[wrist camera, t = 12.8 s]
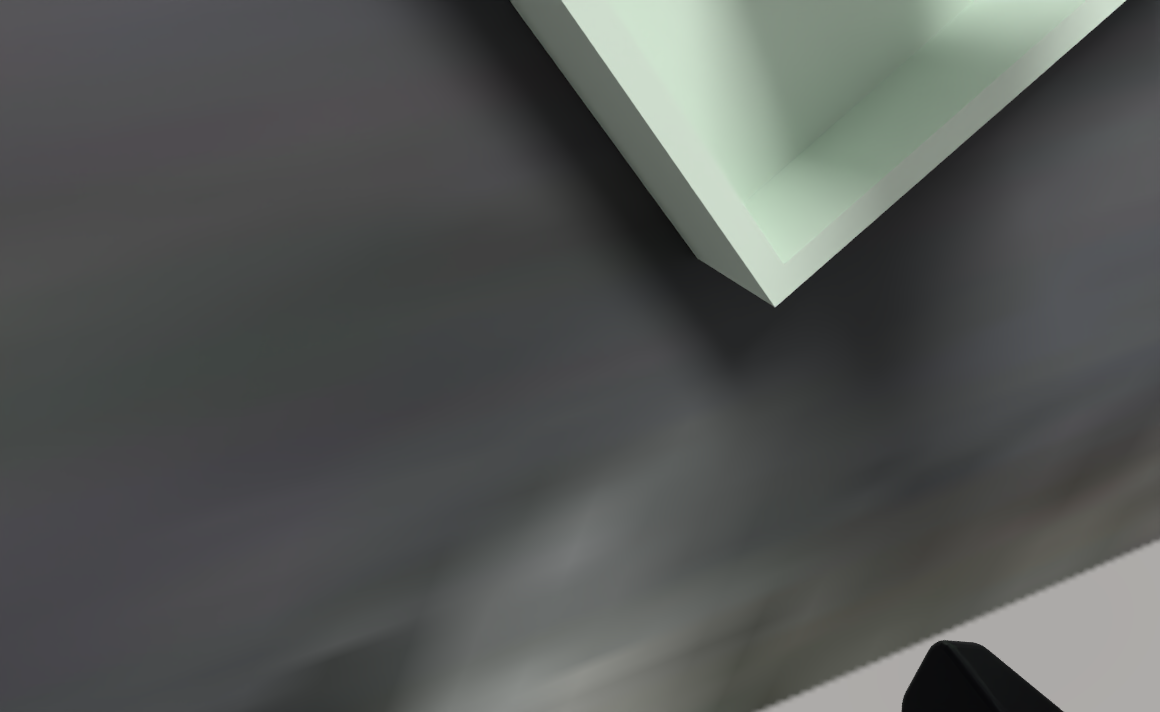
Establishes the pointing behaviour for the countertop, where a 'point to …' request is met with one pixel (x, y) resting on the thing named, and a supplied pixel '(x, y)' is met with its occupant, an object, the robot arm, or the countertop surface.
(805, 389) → the countertop surface
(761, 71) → the tray
